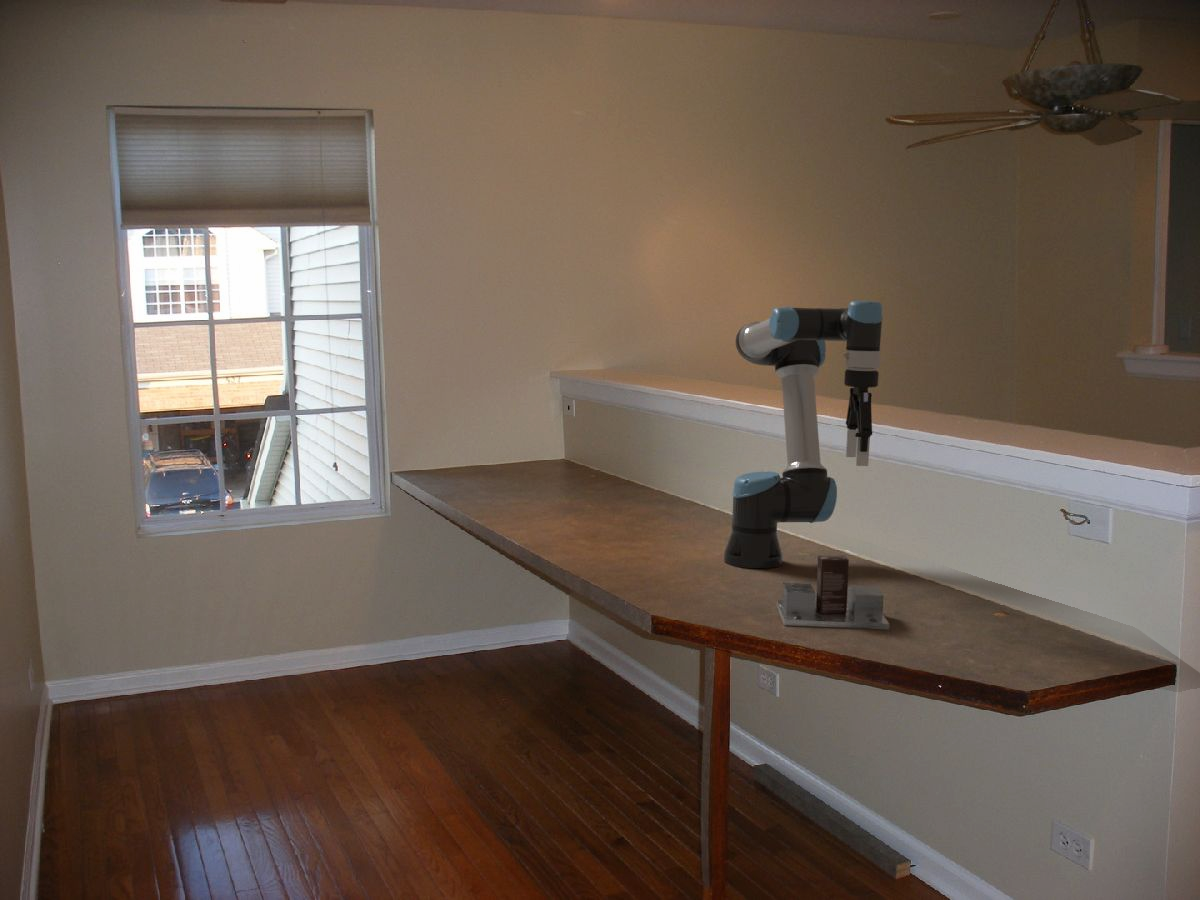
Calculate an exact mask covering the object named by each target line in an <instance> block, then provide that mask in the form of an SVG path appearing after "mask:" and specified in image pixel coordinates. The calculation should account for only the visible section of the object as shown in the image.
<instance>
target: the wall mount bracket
mask: <svg viewBox="0 0 1200 900" xmlns="http://www.w3.org/2000/svg"><path fill="white" fill-rule="evenodd" d="M781 597H782V598H781V599H776V607H777V610H778V612H779V615H780V618H781V620H782V623H783V625H784V626H789V627H792V626H793V627H795V626H796V627H819V628H820V627H821V628H823V627H824V628H843V629H865V630H867V629H870V630H890V623H889V621H888V620H887V619H886V617H885V615H884V614H883V611H884V609H883V608H884V594H883V593H882V591H881V590H880V588H879V587H878V586H877V585H857V584H856V585H854V584H853V585H852V584H849V585H848V595H847V613H820V612H819V611H818V610H817V608H816V602H817V600H816V592H815V590H814V588H813V586H812V584H811V583H805V582H804V583H803V582H802V583H801V582H800V583H799V582H798V583H797V582H783V583H782V595H781Z"/></svg>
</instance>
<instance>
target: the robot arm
mask: <svg viewBox="0 0 1200 900" xmlns="http://www.w3.org/2000/svg"><path fill="white" fill-rule="evenodd" d="M883 317H884V316H883V305H882V303H881V302H880V301H869V300H867V301H866V300H865V301H864V300H863V301H861V300H852V301H850V302H849V303H848V308H847V307H846V308H843V307H841V308H830V307H829V308H825V307H824V308H819V307H816V308H809V307H808V308H806V307H791V306H784V307H776V308H774V309H773V310H772V312H771V314H770V316H769V318H767V319H765V320H763V321H752V322H749V323H747V324H745V325H744V326H742V327H740V328H739V330H738V332H737V334H736V336H735V347H736V348H735V349H737V351H738V353H739V355H740V356H741V357H742V358H743V359H744V360H746V361H747V362H749V363H752V364H755V365H758V366H772V367H774V369H775V372H774V373H775V375H776V377H778V378H779V379H780V380H781V389H782V391H781V393H782V404H783V417H784V433H785V447H786V461H787V462H786V463H787V466H786V467H785V468H784V470H783V471H782V472H781V475H782V477H781V476H780V474H779V473H778V472H776V471H763V470H762V471H752V472H747V473H744V474H740V475H739V476H737V477H736V478H735V480H734V483H733V490H732V491H733V492H732V513H731V514H732V518H731V521H732V522H731V533H730V536H729V539H728V541H727V544H726V546H725V549H724V552H723V561H724V563H726V564H728V565H731V566H734V567H739V568H740V567H741V568H746V569H747V568H748V569H770V568H776V567H780V566H781V565H783V552H782V549H781V545H780V542H779V539H778V523H810V524H813V523H821V522H826V521H828V520H829V519H830V518H831V517H832V515H833V513H834V511H835V507H836V505H837V497H838V489H837V488H838V486H837V483H836V480H835V479H834V478H832V477H831V476H828V470H827V468H826V467H825V466H824V465H822V463H821V453H820V440H819V439H820V438H819V437H820V436H819V424H818V412H817V401H816V400H817V399H816V386H815V376H816V375H817V374H818V372H820V367H821V366H823V364H824V363H825V360H826V352H827V349H826V346H827V345H826V341H831V342H834V341H836V342H846V348H845V349H846V351H845V352H846V353H843V359H845V367H846V368H847V369H845V371H844V380H843V381H844V385H845V386H846V387H850V389H849V399H848V404H847V405H848V407H847V412H846V413H847V414H846V421H845V425H846V428H847V431H846V444H845V445H846V446H845V448H846V449H845V458H855V466H856V467H858V466H859V467H869V460H870V459H869V458H870V457H869V456H870V445H871V444H870V441H871V440H870V439H871V436H873V424H872V423H873V421H872V420H873V419H872V397H873V395H872V392H869V388H876V387H878V385H879V375H880V374H879V371H878V370H877V369H879V368H880V360H881V359H880V357H881V338H882V337H881V336H882V325H883Z"/></svg>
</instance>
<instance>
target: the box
mask: <svg viewBox="0 0 1200 900" xmlns="http://www.w3.org/2000/svg"><path fill="white" fill-rule="evenodd" d="M849 562H850V560H849V559H848V558H847V557H846V556H845V555H817V571H816V572H817V574H816V575H817V577H816V579H817V580H816V601H817V602H816V608H817V610H818V611H819V612H820V613H847V602H848V592H849V585H848V584H849V567H850V566H849V564H850V563H849Z"/></svg>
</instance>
